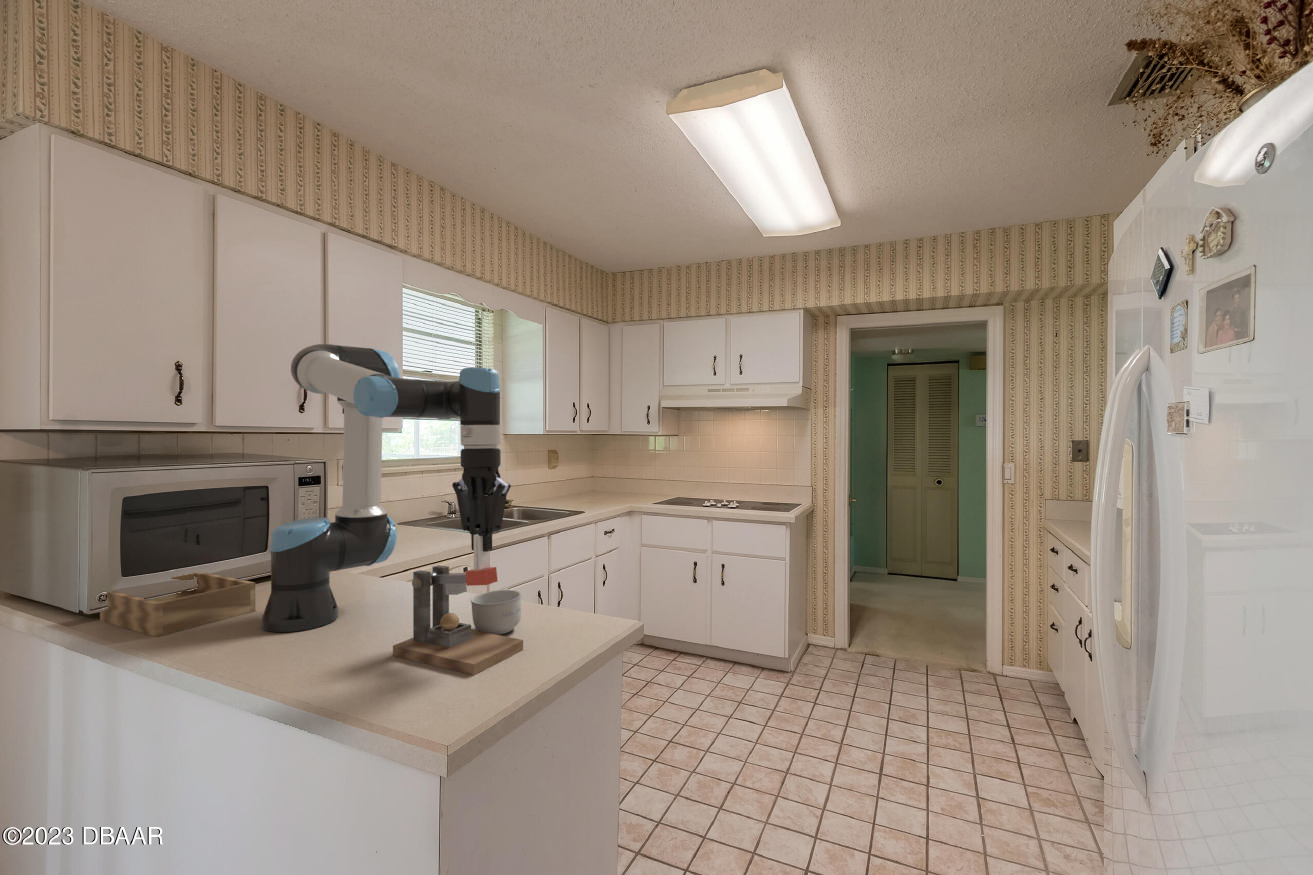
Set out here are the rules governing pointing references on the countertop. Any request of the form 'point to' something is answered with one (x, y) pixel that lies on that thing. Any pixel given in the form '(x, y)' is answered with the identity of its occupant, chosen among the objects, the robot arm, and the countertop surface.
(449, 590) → the lever
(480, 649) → the press base
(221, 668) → the countertop surface
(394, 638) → the countertop surface
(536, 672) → the countertop surface
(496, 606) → the teacup
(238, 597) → the open wooden box
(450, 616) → the walnut
